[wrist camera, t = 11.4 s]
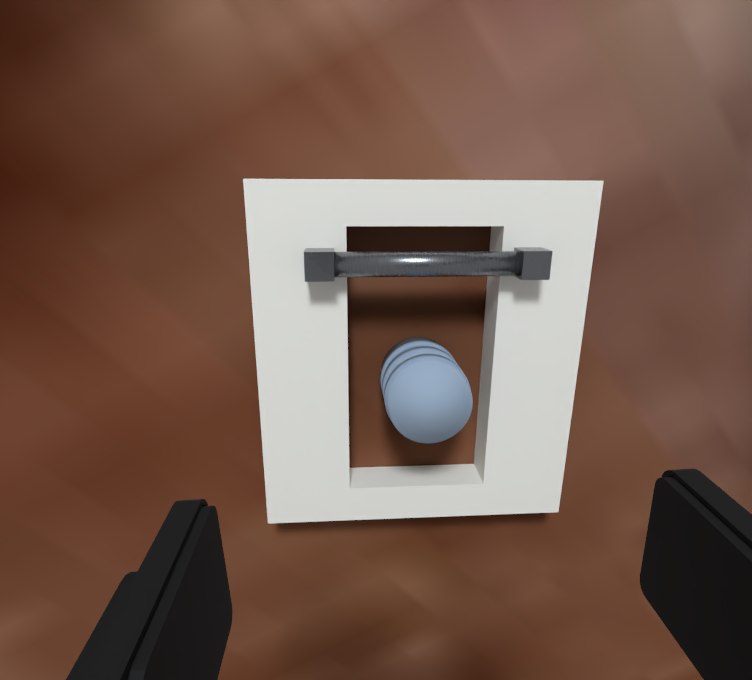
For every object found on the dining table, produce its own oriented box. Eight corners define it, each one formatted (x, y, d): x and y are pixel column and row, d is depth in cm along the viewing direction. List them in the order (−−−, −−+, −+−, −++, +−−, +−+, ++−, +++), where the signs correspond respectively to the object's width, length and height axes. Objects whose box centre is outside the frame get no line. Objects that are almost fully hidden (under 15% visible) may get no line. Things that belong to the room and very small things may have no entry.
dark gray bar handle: (540, 247, 29) (552, 251, 27) (537, 274, 30) (549, 279, 28) (305, 247, 28) (303, 251, 27) (306, 276, 29) (304, 281, 27)
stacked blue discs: (455, 334, 33) (477, 362, 28) (452, 404, 34) (472, 444, 29) (379, 335, 33) (386, 364, 27) (378, 406, 34) (386, 447, 29)
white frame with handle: (583, 180, 30) (603, 180, 28) (544, 490, 37) (558, 512, 35) (251, 179, 29) (243, 178, 27) (272, 500, 36) (268, 523, 33)
